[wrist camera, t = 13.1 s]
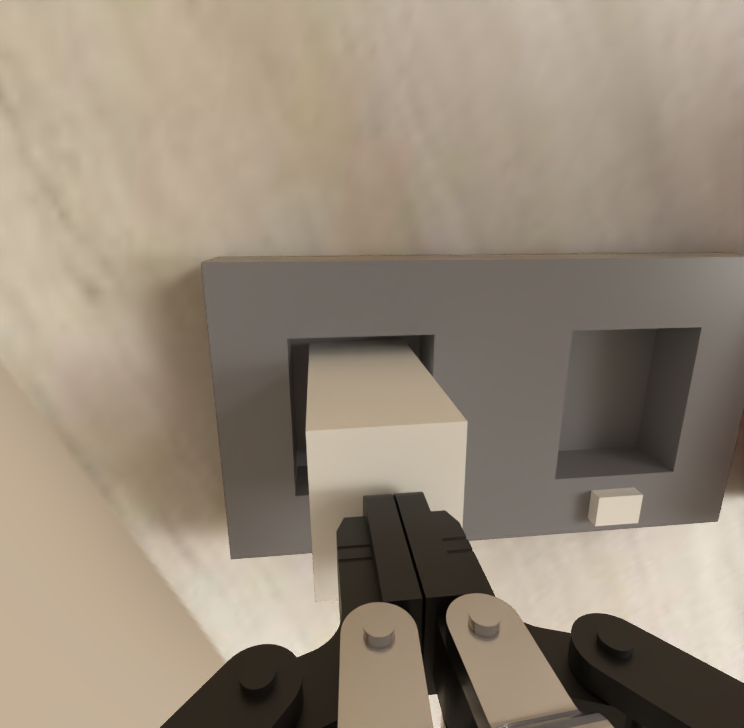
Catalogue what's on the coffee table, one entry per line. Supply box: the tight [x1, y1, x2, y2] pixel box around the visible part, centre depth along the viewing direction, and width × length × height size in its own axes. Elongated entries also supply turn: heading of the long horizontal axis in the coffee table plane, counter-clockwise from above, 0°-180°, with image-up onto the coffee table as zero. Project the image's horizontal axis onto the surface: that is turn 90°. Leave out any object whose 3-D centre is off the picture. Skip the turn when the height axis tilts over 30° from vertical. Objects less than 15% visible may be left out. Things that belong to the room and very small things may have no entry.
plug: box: [306, 339, 468, 602], centre depth 17 cm, size 4×7×9 cm, turn 1°
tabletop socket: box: [201, 253, 744, 559], centre depth 20 cm, size 22×12×4 cm, turn 90°
